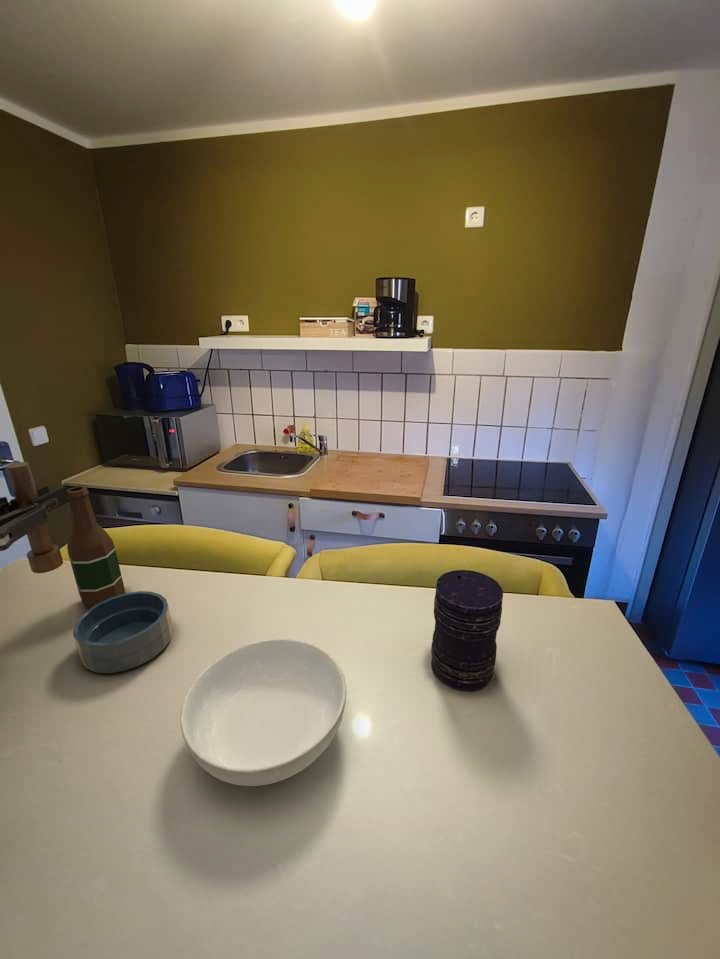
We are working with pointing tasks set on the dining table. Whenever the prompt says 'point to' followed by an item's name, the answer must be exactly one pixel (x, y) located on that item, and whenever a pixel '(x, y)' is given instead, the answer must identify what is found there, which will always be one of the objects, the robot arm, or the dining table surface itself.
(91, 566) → the beer bottle
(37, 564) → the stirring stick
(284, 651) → the serving bowl
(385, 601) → the dining table surface
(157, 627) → the blue round dish
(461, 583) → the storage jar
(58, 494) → the robot arm
